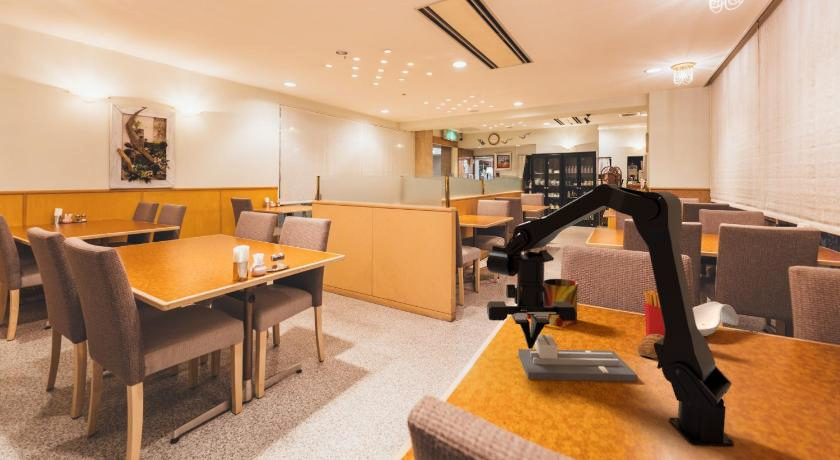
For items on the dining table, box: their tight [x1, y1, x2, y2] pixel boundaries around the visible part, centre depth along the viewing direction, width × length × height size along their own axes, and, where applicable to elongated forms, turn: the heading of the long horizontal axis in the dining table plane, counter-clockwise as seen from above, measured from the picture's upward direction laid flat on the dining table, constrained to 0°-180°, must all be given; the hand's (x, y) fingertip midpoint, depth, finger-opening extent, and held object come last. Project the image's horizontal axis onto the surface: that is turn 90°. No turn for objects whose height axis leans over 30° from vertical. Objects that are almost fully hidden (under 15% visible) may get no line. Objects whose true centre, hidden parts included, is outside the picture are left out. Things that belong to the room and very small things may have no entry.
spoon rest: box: [692, 301, 739, 338], centre depth 108 cm, size 24×12×7 cm, turn 115°
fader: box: [534, 334, 559, 359], centre depth 87 cm, size 6×4×5 cm, turn 175°
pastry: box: [637, 334, 664, 360], centre depth 94 cm, size 9×7×4 cm
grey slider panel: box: [517, 348, 638, 383], centre depth 87 cm, size 12×22×3 cm, turn 85°
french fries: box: [643, 290, 665, 337], centre depth 100 cm, size 9×4×13 cm, turn 33°
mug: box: [527, 278, 579, 328], centre depth 116 cm, size 10×14×12 cm
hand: (530, 348), depth 87 cm, fingers closed
